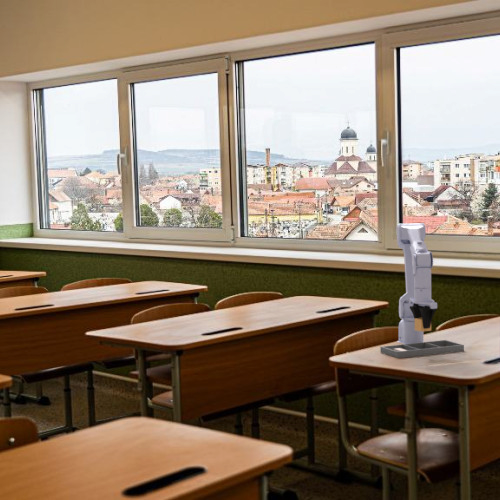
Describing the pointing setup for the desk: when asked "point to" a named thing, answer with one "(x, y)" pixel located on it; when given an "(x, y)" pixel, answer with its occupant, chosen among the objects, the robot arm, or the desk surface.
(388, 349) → the organizer
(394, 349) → the eraser
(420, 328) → the letter cube
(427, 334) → the desk surface
